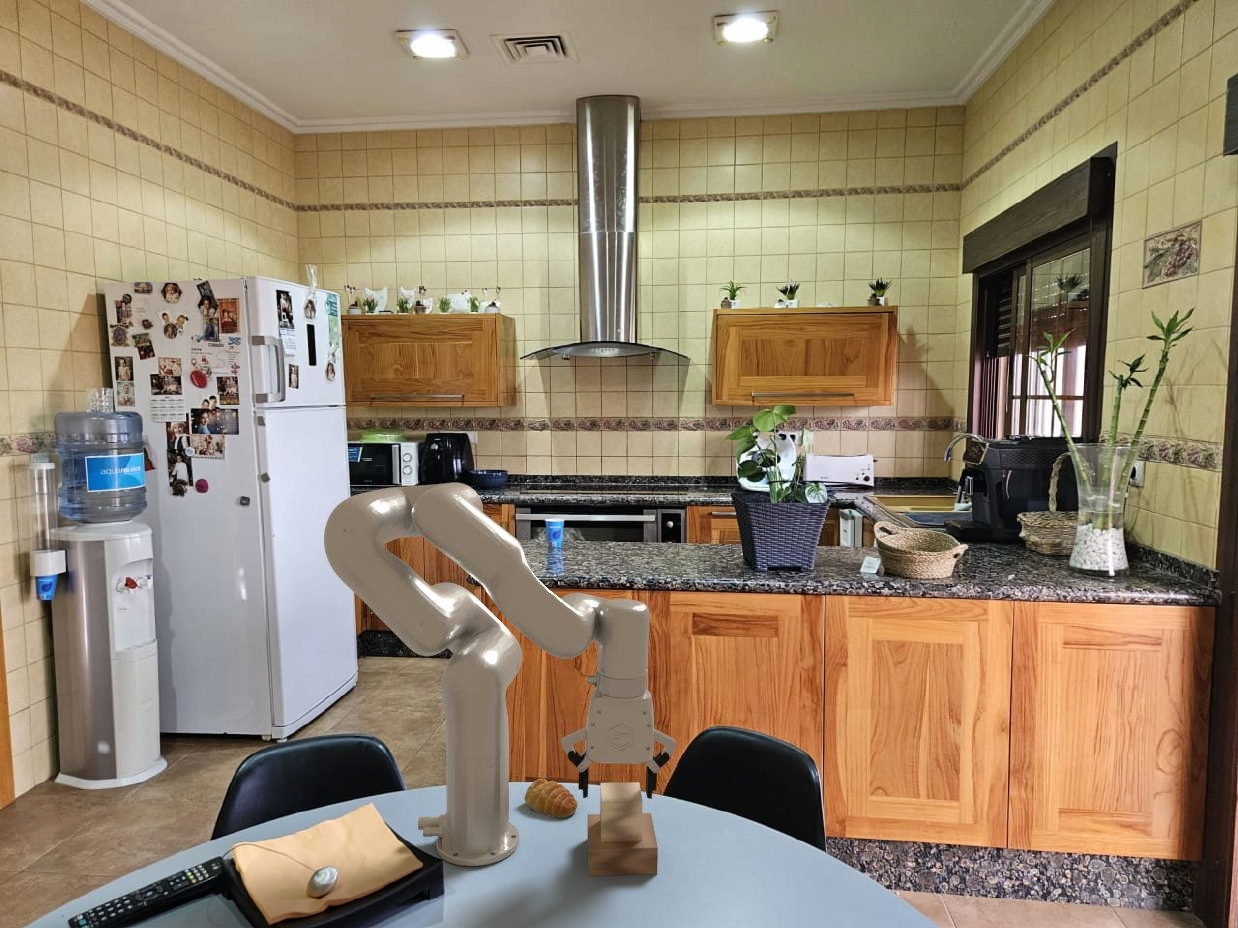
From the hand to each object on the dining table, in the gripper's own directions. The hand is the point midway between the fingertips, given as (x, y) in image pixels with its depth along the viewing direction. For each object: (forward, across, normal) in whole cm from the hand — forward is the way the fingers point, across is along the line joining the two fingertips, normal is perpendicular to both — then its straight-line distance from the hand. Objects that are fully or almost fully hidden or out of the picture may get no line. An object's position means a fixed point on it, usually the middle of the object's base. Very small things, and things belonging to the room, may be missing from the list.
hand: (616, 793), depth 120 cm
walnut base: (+10, +1, 0) cm, 10 cm away
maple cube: (+6, +1, 0) cm, 6 cm away
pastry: (+10, -10, +16) cm, 21 cm away
